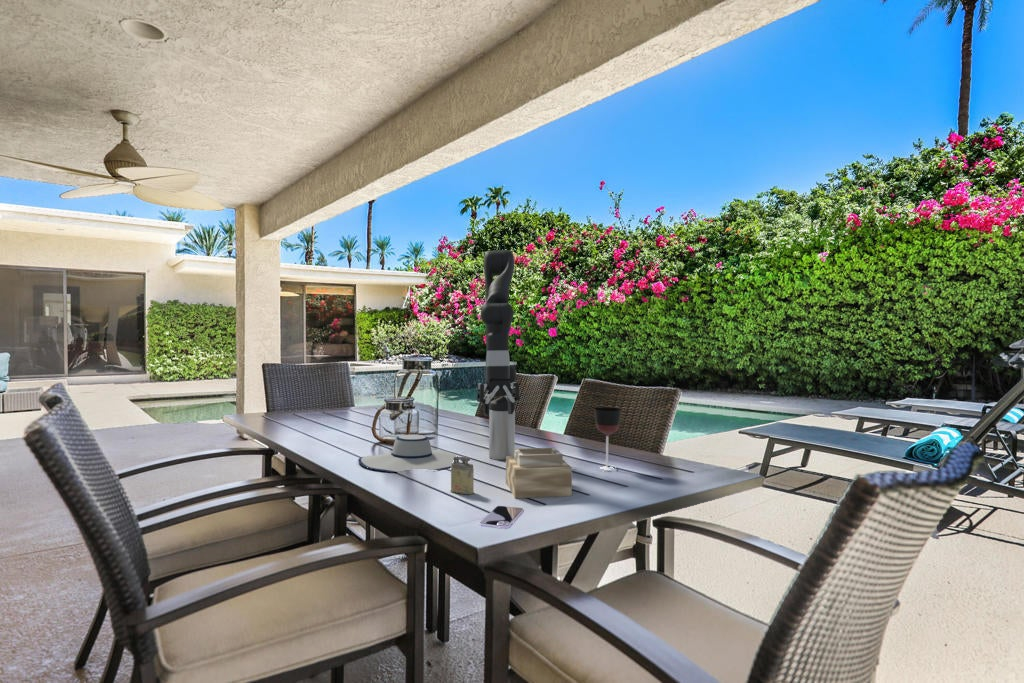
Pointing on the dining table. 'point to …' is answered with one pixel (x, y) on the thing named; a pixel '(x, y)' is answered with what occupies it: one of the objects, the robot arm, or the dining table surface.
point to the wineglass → (607, 425)
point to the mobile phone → (501, 517)
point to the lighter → (462, 476)
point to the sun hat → (409, 456)
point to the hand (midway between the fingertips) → (498, 414)
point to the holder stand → (538, 473)
